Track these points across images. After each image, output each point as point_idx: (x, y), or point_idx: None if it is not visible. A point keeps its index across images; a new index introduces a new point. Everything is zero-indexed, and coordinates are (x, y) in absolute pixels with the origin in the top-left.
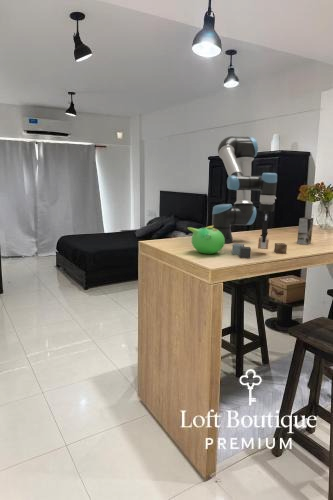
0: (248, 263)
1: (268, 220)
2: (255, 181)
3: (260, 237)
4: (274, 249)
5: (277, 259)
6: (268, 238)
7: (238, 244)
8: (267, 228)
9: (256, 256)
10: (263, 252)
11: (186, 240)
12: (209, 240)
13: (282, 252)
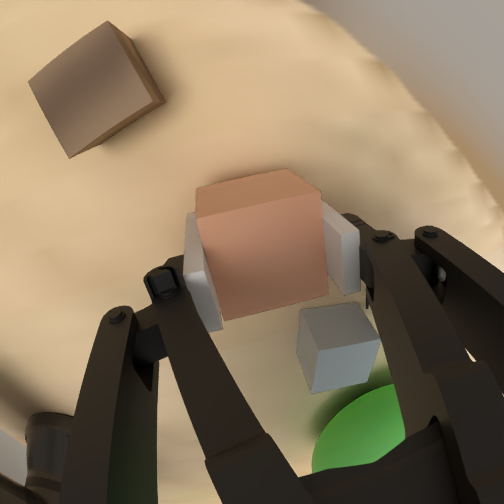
0: (499, 217)
1: (502, 410)
2: None
3: (224, 308)
4: (95, 145)
5: (385, 73)
6: (222, 215)
7: (337, 370)
8: (501, 272)
9: (359, 217)
10: (187, 208)
11: (166, 495)
12: None
13: (141, 62)
